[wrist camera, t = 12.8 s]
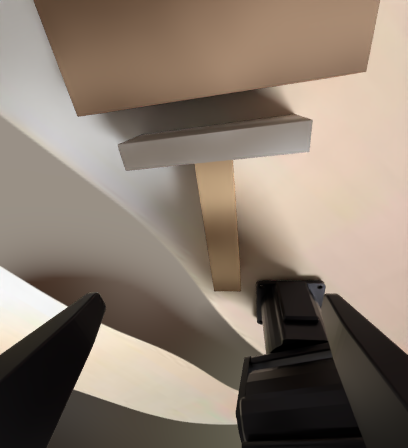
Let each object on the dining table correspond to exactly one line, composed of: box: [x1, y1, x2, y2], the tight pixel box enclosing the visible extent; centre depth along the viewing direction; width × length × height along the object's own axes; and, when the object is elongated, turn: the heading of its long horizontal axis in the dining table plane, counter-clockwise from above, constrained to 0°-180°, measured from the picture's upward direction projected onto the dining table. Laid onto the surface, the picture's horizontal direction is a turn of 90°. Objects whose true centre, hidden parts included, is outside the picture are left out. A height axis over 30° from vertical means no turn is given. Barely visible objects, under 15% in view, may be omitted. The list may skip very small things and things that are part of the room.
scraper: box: [118, 114, 313, 291], centre depth 17 cm, size 14×11×4 cm
